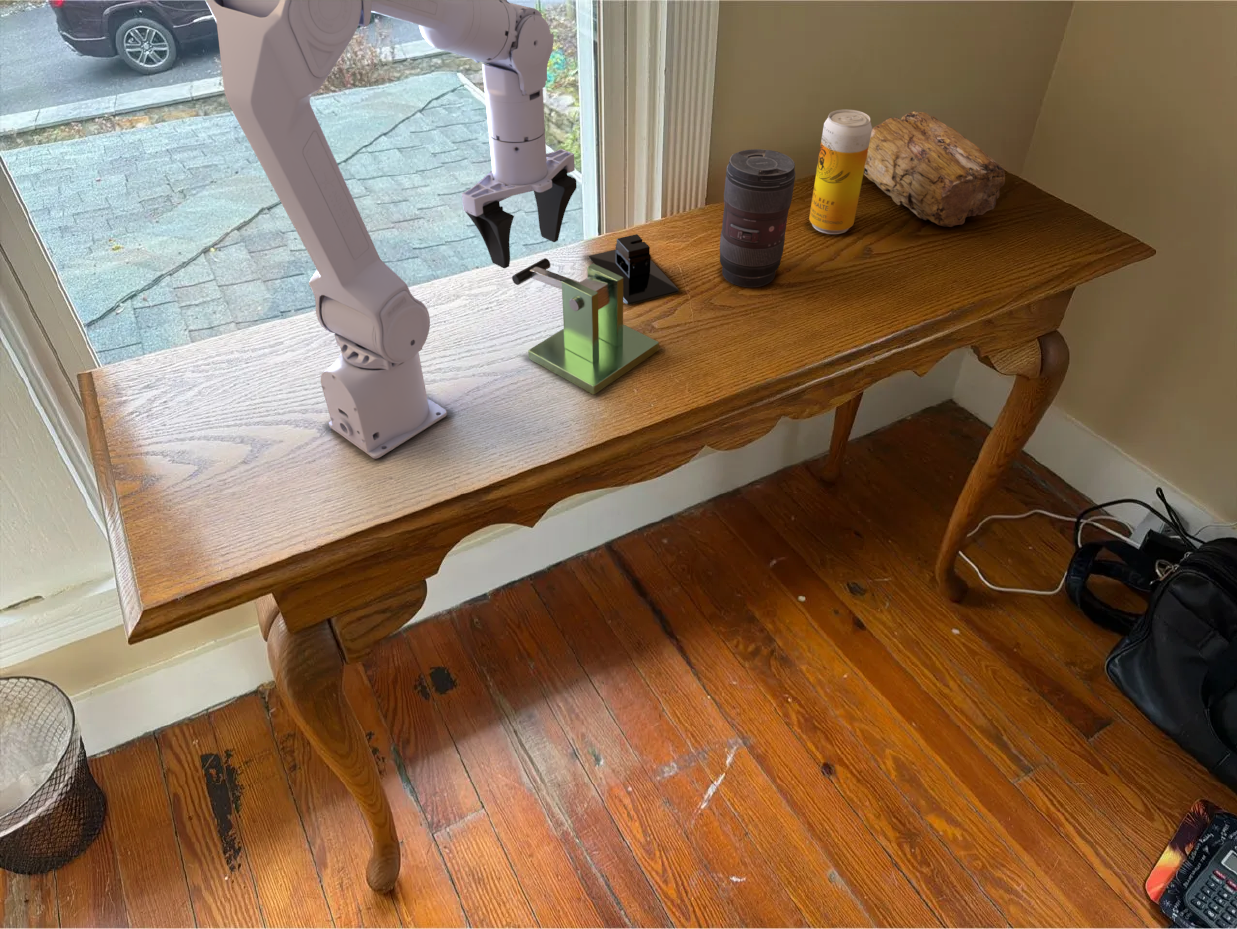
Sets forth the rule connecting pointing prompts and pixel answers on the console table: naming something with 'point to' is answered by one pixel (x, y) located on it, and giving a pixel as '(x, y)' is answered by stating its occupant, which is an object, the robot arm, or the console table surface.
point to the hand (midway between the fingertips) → (525, 251)
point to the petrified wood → (932, 169)
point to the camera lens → (755, 215)
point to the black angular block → (635, 270)
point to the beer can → (840, 170)
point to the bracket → (593, 336)
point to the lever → (553, 279)
